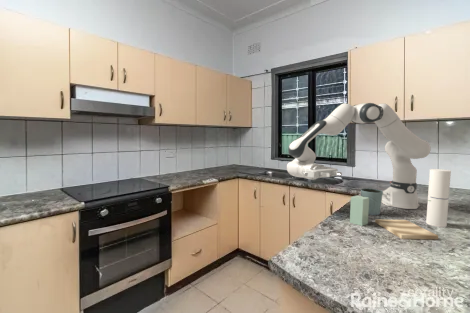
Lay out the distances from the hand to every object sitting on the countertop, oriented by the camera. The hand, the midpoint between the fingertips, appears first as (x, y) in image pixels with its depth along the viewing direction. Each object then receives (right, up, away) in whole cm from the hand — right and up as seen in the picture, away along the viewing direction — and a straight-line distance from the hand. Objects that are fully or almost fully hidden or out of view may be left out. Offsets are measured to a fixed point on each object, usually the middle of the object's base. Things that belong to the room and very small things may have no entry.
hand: (335, 174), depth 117 cm
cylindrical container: (+42, -22, -9) cm, 48 cm away
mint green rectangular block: (+7, -22, -8) cm, 24 cm away
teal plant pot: (+21, -21, +7) cm, 31 cm away
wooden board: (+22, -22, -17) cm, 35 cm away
